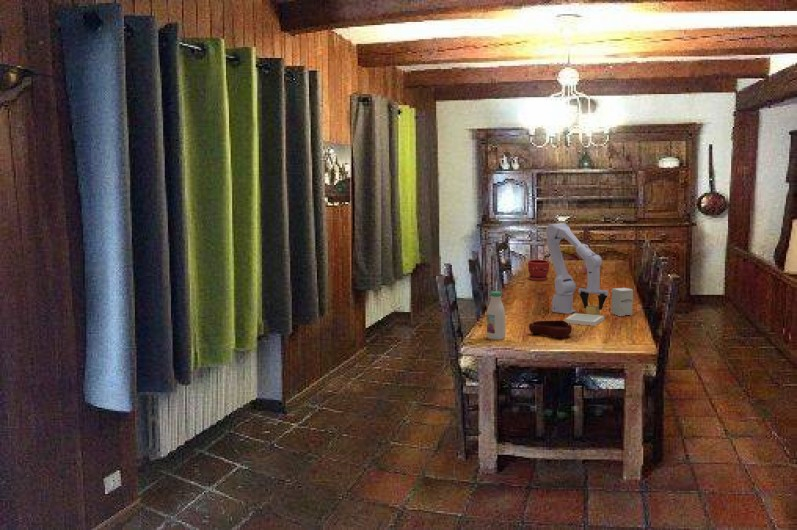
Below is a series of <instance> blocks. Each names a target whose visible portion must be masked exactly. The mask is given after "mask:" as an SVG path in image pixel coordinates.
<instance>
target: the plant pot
mask: <svg viewBox="0 0 797 530" xmlns="http://www.w3.org/2000/svg"><path fill="white" fill-rule="evenodd" d="M527 263H528V264H527V266H528V268H527V270H528V274H529V276H528V279H530V280H531V281H536V282H537V281H539V282H542V281H545V280H547V279H548V276H547V275H548V274H549V269H550V261H549V260H547V259H545V260H544V259H530V260H528V262H527Z"/></svg>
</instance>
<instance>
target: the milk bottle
mask: <svg viewBox="0 0 797 530" xmlns="http://www.w3.org/2000/svg"><path fill="white" fill-rule="evenodd" d="M489 295H490V301H489V303H488V306H487V311H486V337H487V339H488V340H493V341H495V340H499V341H500V340H505V338H506V310H505V307H504V305H503V302H502V292H501V291H499V290H496V291H490V294H489Z"/></svg>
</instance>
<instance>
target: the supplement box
mask: <svg viewBox="0 0 797 530" xmlns="http://www.w3.org/2000/svg"><path fill="white" fill-rule="evenodd" d="M633 307H634V289H632V288H629V287H628V288H627V287H617V288H611V310H610V311H611V313H612V315H614V314H615V316H616V315H618V316H617V317H619V316H620V317H626V316H625V315H630V316H633V314H634V313H633V312H634V309H633Z"/></svg>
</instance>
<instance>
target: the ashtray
mask: <svg viewBox="0 0 797 530" xmlns="http://www.w3.org/2000/svg"><path fill="white" fill-rule="evenodd" d="M528 328H529V331H530V333H532V335H534V336H540V335H541V336H545V337H550V336H551V337H554V338H555V339H557V338H558V339H557V340H562V338H563V339H564V338H567V337H568V336H570V335H571V334H572V329H573V328H572V324H568V323H567V322H565V320H536V321H534V322H531V323H529V324H528Z"/></svg>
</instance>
